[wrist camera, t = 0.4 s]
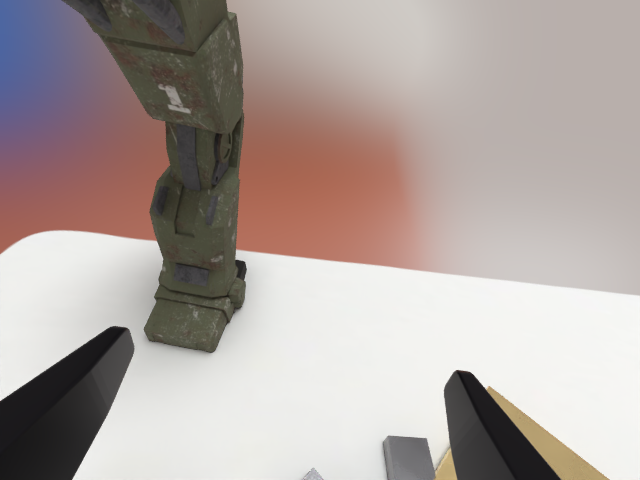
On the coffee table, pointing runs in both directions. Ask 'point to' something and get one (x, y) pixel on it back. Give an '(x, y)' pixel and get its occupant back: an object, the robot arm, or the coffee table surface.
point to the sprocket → (417, 468)
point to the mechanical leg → (187, 152)
